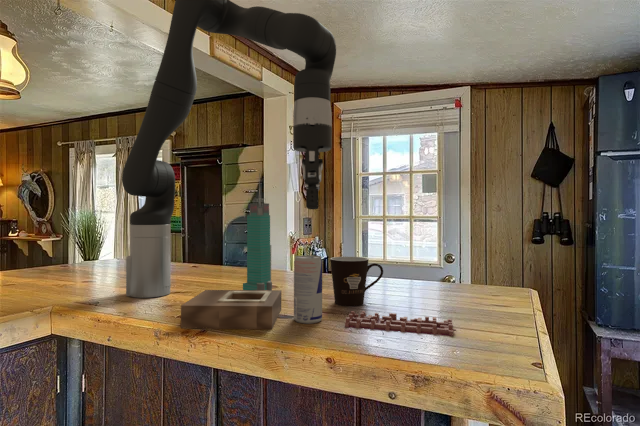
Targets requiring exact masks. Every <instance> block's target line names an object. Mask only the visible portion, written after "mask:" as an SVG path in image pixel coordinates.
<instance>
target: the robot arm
mask: <svg viewBox="0 0 640 426" xmlns="http://www.w3.org/2000/svg"><path fill="white" fill-rule="evenodd" d="M198 28H199V29H201V30H203V31H204V32H208V33H212V34H217V35H218V34H220V35H230V36H236V37H242V38H245V39H247V40H250V41H253V42H256V43H259V44H261V45H263V46H267V47H270V48H272V49H275V50H283V51H284V50H288V51H290V52H293V53H295V54H296V55H297V56H299V57H301V58H302V59H304V60H305V66H304V69H301V70H299V71H298V72H296V74H295V76H294V84H293V86H294V87H293V89H294V91H293V93H294V95H293V96H294V97H293V101H294V104H293V111H292V113H293V114H292V117H293V118H292V134H293V135H292V140H293V141H292V142H293V143H292V149H293V150H294V151H295V152H299V153H304V158H302V160H301V165H302V166H301V168H302V176H303V177H302V178H303V181H304V187H305V192H306V193H305V195H306V197H305V200H306V202H305V203H306V209H308V210H318V209H319V191H320V190H321V189H320V186H321V185H320V183H321V182H322V175H323V174H322V171H323V165H324V161H323V160H324V159H323V158H320V154H321V153H325V152H329V151H331V150H332V149H333V138H332V137H333V136H332V135H333V134H332V133H333V130H332V129H333V127H332V126H333V124H332V123H333V119H332V116H333V114H332V107H331V78H332V75H333V72H334V66H335V61H336V57H337V45H336V43H337V42H336V39H335V37H334V34H333V32H332V31H330V30H329V29H328V28H327V27H326V26H325V25H323V24H322V23H321V22H319V20H317V19H316V18H315V17H312V16H310V15H308V14H304V13H301V12H282V11H280V10H278V9H277V10H276V9H273V8H269V7H265V6H251V7H243V6H240V5H238V4H237V3H235V2H233V1H231V0H175V2H174V6H173V11H172V17H171V20H170V25H169V30H168V34H167V35H168V36H167V40H166V43H165V48H164V50H163V54H162V57H161V58H162V59H161V60H160V61H161V62H160V64H159V65H160V66H159V67H158V71H157V74H156V76H155V79H154V82H153V85H152V89H151V92H150V97H149V99H148V103H147V106H146V109H145V112H144V116H143V118H142V120H141V121H142V122H141V125H140V127H139V130H138V133H137V136H136V138H135V140H134V142H133V145H132V147H131V148H130V149H131V150H130V151H129V154H128V156H127V158H126V161H125V164H124V167H123V169H122V173H121V183H122V187H123V190H124V191H125V192H126V193H127V194H129V195H131V196H134V197H145V200H144V203H143V205H142V206H141V207H140V208H139V209H137V210H134V211H133V212H131V213H130V217H129V255H127V256H126V258H125V275H126V276H125V284H126V285H125V289H126V290H125V296H126V297H132V298H141V299H142V298H143V299H145V298H146V299H147V298H156V297H157V298H158V297H163V296H168V295H169V294H171V268H172V267H171V264H172V263H171V255H172V254H171V249H172V248H171V241H172V240H171V232H172V231H171V228H172V227H171V226H172V225H171V223H172V221H171V220H172V219H171V218H172V216H173V214H174V210H175V197H176V176H175V172H174V169H173V167H172V166H171V164H170V163H168V162H166V161H163V160H159V159H158V157H159V155H160V151H161V149H162V147H163V145H164V143H165V142H166V140H168V138H170V136H171V135H172V134H173V133H174V132H175V131H176V130H177V129H178V128H179V127H180V126H181V125H182V124H183V123H184V122H185V120H186V119H187V118H188V116H189V115H190V112H191V109H192V106H193V103H194V100H195V97H196V94H197V89H198V80H197V79H198V78H197V73H196V72H197V71H196V66H195V65H196V64H195V60H194V59H195V58H194V41H195V36H196V32H197V29H198Z"/></svg>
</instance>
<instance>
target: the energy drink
mask: <svg viewBox="0 0 640 426" xmlns="http://www.w3.org/2000/svg"><path fill="white" fill-rule="evenodd" d="M293 320H294V321H295V322H296V323H299V324H304V325H309V324H310V325H312V324H318V323H319V322H321V321H322V320H323V259H322V256H320V255H312V254H311V255H310V254H309V255H307V254H306V255H296V256H295V257H294V261H293Z"/></svg>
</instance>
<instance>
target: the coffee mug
mask: <svg viewBox="0 0 640 426" xmlns="http://www.w3.org/2000/svg"><path fill="white" fill-rule="evenodd" d="M329 262H330V271H331V278H332V290H333V297H334V304H335V305H337V306H341V307H349V308H350V307H360V306H363V305H364V303H365V301H364V300H365V292H366V291H367V290H368V289H370V288H372V287H373V286H374V285H375V284H376V283H378V281H380V280H381V278H382V277H383V274H384V268H383V266H382V265H381V264H379V263H371V264H369V258H368V257H361V256H334V257H330V261H329ZM372 267H378V268H379V270H380V273H379V276H378V277H377V278H376V279H375V280H374V281H373V282H371V283H370V284H368V285H367V275H368V273H369V270H370V269H371V268H372ZM366 285H367V286H366Z"/></svg>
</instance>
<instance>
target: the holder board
mask: <svg viewBox="0 0 640 426" xmlns="http://www.w3.org/2000/svg"><path fill="white" fill-rule="evenodd" d="M281 311H282V290H280V289H278V290H276V289H275V290H273V289H272V290H243V289H205V290H202V292H200V293H198V294H197V295H195V296H194V297H192V298H191V299H189V300H187V301H186V302H184V303H182V304H181V305H180V329H211V330H212V329H214V330H215V329H216V330H217V329H218V330H219V329H222V330H230V329H231V330H273V328H274V325H275V324H276V322H277V320H278V318H279V315H280V313H281Z"/></svg>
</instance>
